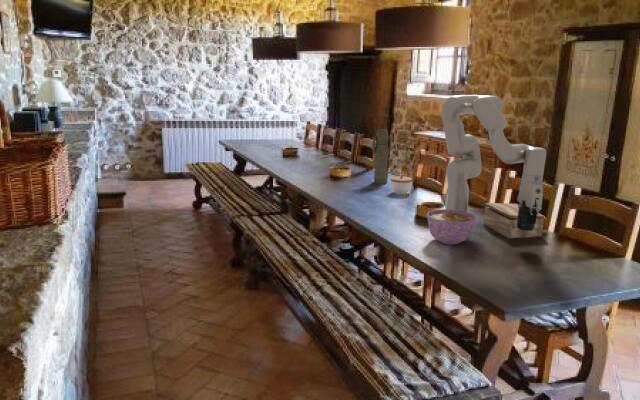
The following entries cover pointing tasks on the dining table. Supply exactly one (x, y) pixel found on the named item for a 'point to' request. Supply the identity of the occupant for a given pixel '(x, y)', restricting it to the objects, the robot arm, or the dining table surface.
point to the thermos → (381, 156)
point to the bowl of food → (450, 225)
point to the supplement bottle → (524, 218)
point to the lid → (508, 209)
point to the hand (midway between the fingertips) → (526, 220)
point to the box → (509, 225)
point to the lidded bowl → (401, 184)
